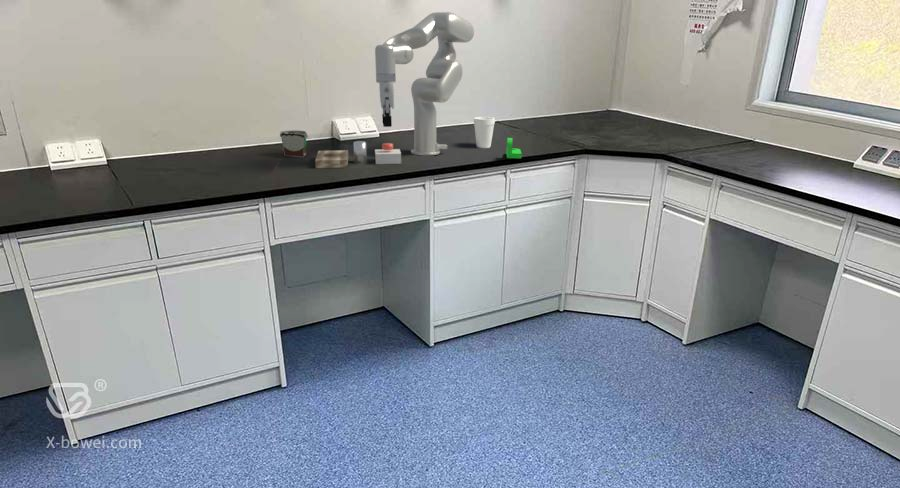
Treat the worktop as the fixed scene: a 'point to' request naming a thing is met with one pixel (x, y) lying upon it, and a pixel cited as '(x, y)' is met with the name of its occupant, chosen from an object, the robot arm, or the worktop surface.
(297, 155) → the food container
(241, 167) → the worktop surface
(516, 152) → the mechanical part
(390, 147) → the button
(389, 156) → the button station
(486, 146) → the foam cup
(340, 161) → the pallet
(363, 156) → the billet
